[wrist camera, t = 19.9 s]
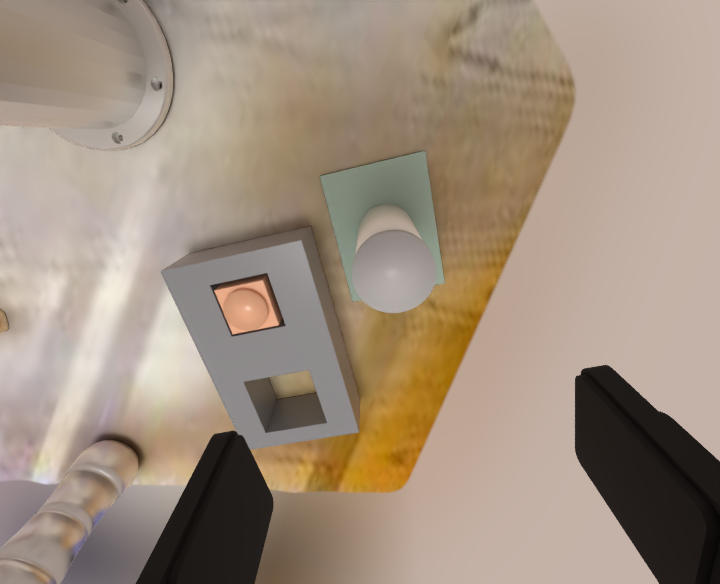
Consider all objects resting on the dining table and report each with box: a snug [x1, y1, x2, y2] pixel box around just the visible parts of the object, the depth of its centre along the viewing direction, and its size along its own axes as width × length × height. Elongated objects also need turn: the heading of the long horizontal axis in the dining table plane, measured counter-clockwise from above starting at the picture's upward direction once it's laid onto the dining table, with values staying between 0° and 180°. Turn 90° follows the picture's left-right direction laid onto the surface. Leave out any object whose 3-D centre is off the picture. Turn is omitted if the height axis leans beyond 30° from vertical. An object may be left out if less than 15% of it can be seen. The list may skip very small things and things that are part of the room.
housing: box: [161, 226, 360, 450], centre depth 34 cm, size 20×12×5 cm, turn 13°
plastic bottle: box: [0, 440, 138, 584], centre depth 35 cm, size 6×7×20 cm
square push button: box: [214, 273, 283, 334], centre depth 32 cm, size 4×4×6 cm
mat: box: [320, 151, 444, 302], centre depth 32 cm, size 12×9×1 cm
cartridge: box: [352, 204, 437, 313], centre depth 27 cm, size 5×5×11 cm
